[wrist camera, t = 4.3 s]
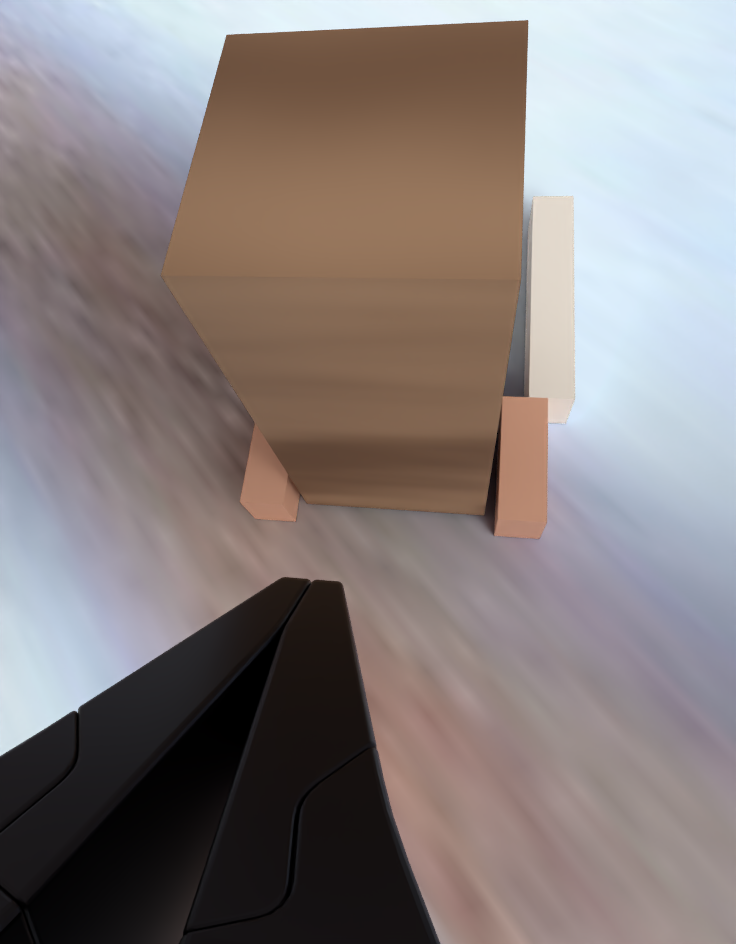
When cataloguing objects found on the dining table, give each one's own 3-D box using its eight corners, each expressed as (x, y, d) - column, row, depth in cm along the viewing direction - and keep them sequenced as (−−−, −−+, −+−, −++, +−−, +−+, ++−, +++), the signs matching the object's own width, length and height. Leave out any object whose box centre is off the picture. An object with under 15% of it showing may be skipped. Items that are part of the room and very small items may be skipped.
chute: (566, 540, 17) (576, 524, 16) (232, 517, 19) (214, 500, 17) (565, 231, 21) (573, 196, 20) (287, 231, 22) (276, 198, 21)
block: (484, 515, 18) (520, 279, 8) (306, 503, 18) (160, 275, 9) (491, 358, 19) (527, 21, 10) (329, 353, 20) (226, 34, 11)
